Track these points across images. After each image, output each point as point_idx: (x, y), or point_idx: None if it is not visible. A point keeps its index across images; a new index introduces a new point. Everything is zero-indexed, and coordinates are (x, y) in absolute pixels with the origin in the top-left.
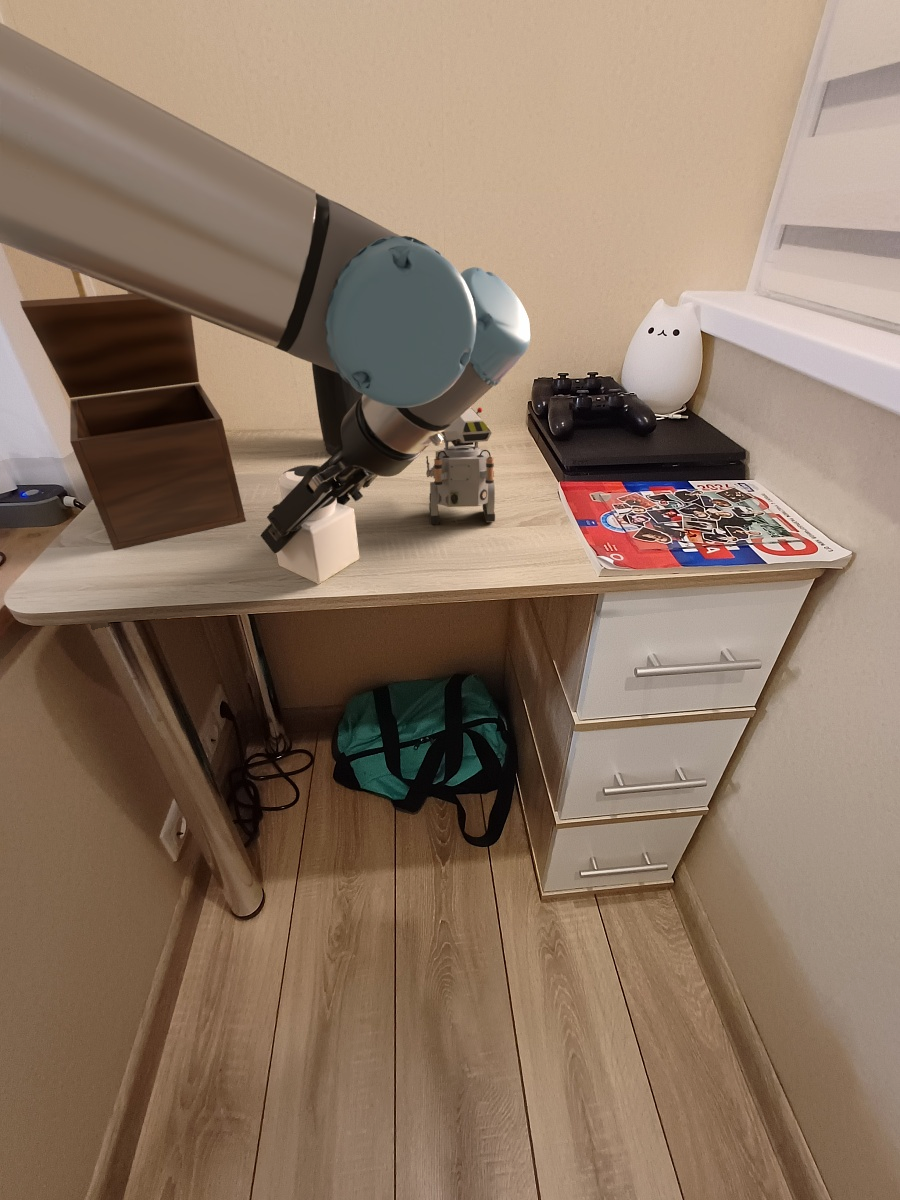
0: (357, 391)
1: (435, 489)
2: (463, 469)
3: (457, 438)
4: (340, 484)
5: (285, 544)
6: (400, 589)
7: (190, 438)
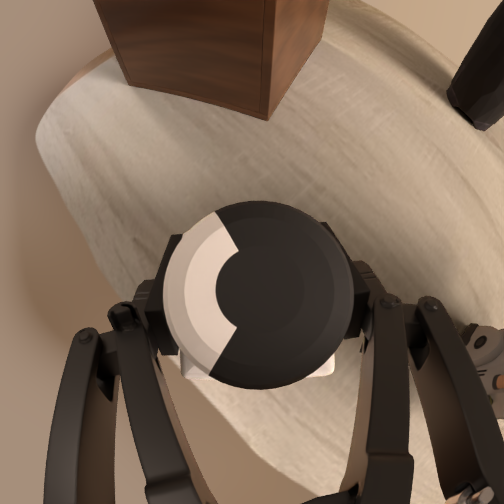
0: None
1: (491, 358)
2: None
3: None
4: (368, 307)
5: None
6: (278, 460)
7: None
